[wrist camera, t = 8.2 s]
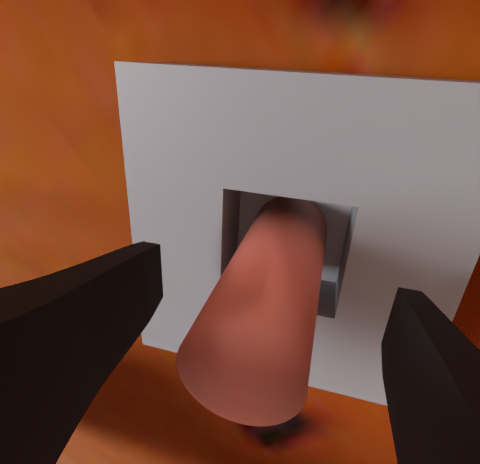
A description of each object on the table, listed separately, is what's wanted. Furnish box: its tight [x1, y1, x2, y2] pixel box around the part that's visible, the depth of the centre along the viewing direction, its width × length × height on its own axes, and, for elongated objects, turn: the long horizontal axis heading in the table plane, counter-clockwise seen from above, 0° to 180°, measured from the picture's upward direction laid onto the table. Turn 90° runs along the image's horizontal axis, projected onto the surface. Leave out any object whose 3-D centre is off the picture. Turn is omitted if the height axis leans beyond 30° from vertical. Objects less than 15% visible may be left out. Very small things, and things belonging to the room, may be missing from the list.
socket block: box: [114, 61, 480, 406], centre depth 14 cm, size 12×12×3 cm
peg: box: [176, 196, 327, 426], centre depth 11 cm, size 3×3×8 cm
